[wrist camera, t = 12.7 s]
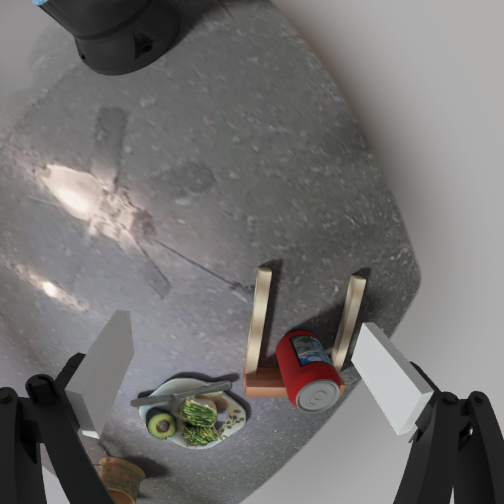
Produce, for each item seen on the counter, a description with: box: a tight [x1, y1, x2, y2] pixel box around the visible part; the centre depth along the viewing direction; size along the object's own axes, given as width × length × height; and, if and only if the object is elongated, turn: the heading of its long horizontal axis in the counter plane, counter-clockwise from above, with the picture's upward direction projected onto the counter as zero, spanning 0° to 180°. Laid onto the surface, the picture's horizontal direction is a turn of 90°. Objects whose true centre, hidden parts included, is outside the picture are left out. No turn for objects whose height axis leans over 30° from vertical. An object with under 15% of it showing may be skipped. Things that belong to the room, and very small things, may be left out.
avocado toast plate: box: [130, 378, 246, 449], centre depth 40 cm, size 19×18×5 cm
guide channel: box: [243, 267, 366, 398], centre depth 38 cm, size 18×15×5 cm
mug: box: [93, 456, 145, 504], centre depth 40 cm, size 12×18×12 cm, turn 38°
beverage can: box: [276, 330, 341, 413], centre depth 35 cm, size 7×7×12 cm
